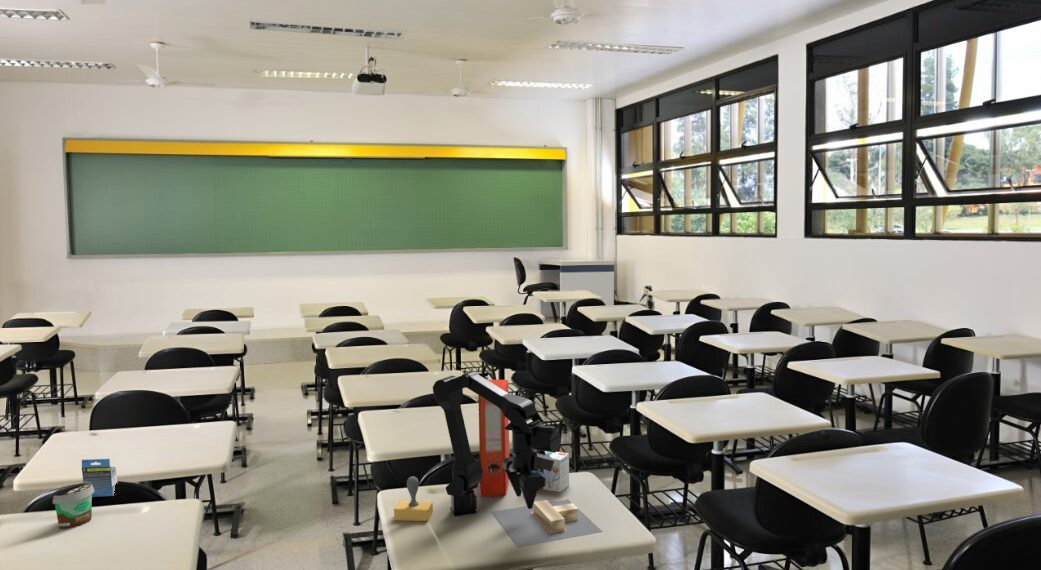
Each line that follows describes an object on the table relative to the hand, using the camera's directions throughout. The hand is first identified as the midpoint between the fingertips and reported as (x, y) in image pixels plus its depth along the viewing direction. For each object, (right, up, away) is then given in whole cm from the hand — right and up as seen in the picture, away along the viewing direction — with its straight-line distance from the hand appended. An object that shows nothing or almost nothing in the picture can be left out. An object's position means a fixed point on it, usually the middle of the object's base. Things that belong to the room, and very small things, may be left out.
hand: (524, 502), depth 206 cm
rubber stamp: (-31, -7, +9) cm, 34 cm away
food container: (-127, -9, +11) cm, 128 cm away
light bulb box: (+8, -4, +29) cm, 30 cm away
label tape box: (-133, -7, +32) cm, 137 cm away
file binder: (-9, -4, +31) cm, 33 cm away
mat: (+6, -7, +3) cm, 9 cm away
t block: (+10, -6, +4) cm, 12 cm away
